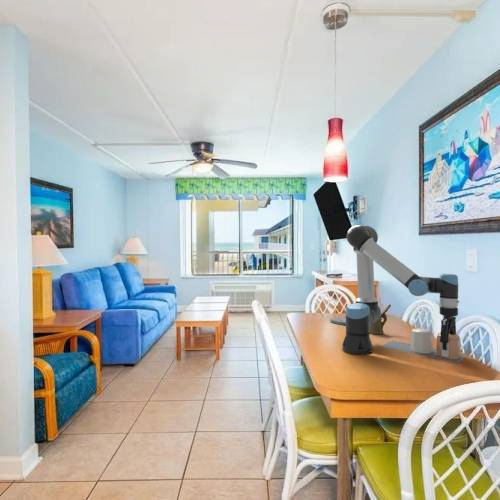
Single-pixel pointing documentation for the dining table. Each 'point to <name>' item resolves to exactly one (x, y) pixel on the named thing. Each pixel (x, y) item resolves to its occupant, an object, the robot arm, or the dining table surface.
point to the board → (407, 348)
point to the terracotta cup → (450, 346)
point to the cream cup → (421, 340)
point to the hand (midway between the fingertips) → (448, 354)
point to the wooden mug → (379, 323)
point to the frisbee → (339, 320)
